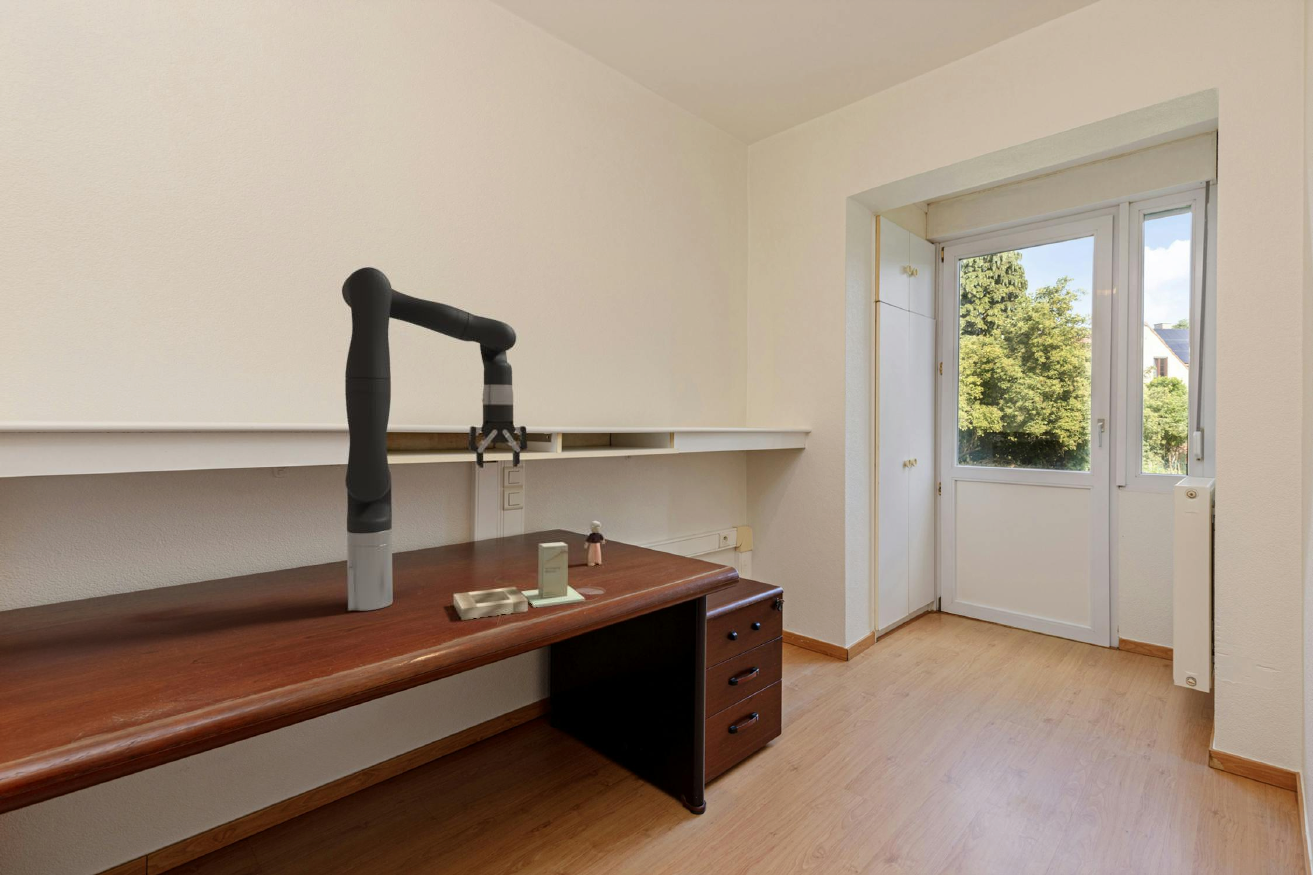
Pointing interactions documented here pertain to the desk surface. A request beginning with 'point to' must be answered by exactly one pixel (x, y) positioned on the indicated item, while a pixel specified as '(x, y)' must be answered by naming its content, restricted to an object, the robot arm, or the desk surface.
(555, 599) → the pad
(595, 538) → the grandmother figurine
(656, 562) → the desk surface
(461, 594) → the pocket holder
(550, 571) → the skincare box
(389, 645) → the desk surface
